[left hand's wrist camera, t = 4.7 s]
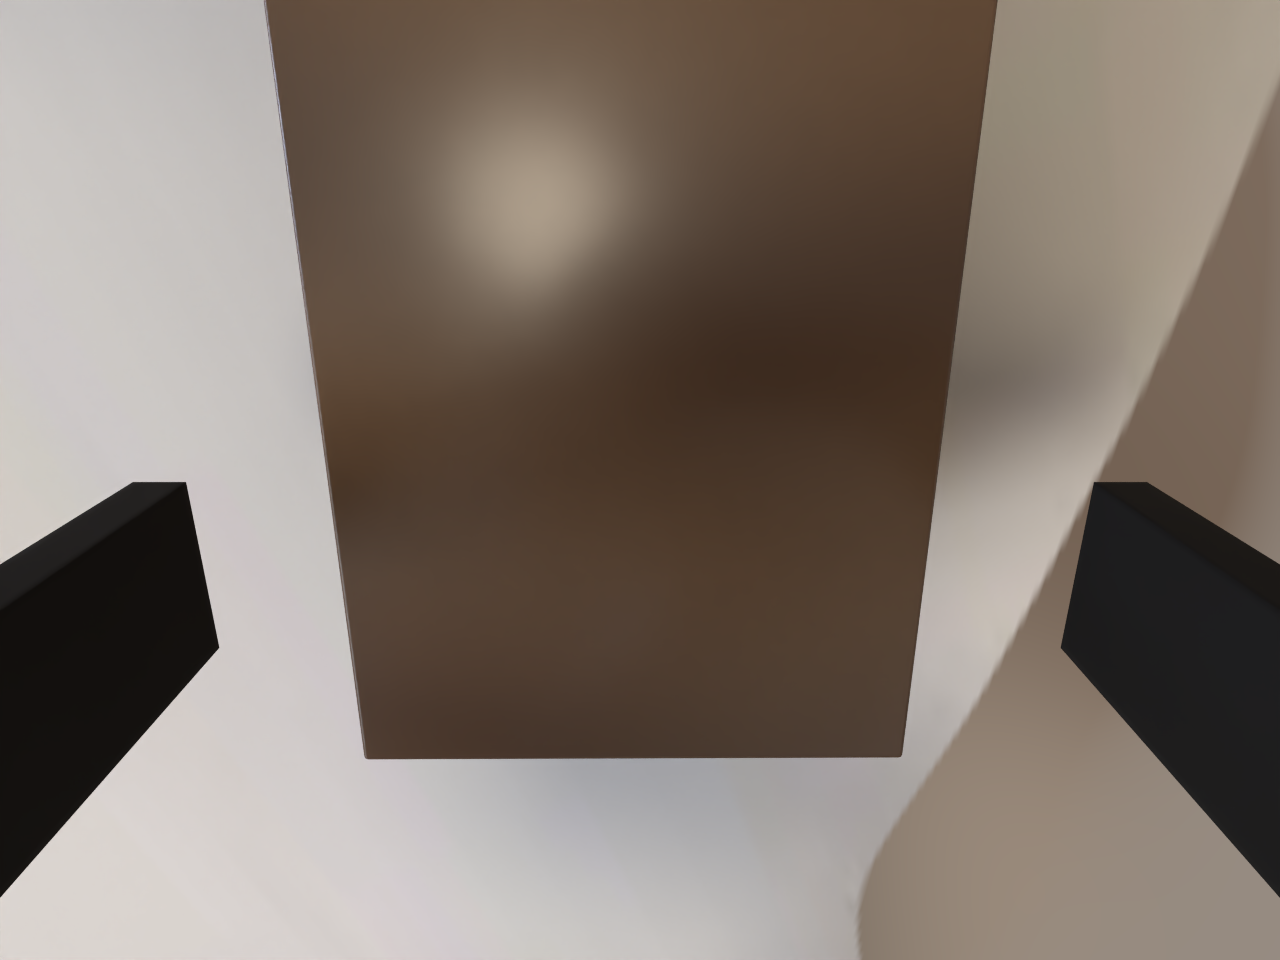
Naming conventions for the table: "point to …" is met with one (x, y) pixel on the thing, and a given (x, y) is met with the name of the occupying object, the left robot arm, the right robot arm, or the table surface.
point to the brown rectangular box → (631, 359)
